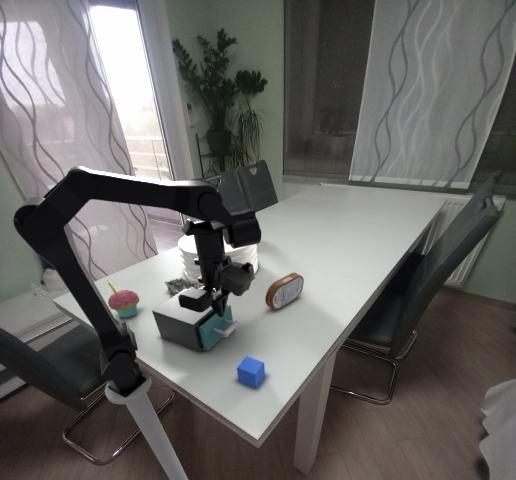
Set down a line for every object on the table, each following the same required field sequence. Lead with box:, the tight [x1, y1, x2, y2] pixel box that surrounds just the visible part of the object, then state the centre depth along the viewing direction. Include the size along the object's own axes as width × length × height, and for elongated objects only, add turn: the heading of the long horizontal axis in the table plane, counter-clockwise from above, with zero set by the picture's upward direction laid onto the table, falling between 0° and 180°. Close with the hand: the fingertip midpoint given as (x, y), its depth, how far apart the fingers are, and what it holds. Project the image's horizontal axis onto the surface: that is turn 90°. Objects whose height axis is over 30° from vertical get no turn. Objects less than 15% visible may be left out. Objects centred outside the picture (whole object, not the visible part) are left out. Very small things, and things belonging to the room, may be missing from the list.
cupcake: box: [106, 279, 140, 318], centre depth 80 cm, size 9×8×12 cm
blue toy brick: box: [236, 355, 266, 389], centre depth 59 cm, size 4×4×4 cm
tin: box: [264, 272, 305, 310], centre depth 81 cm, size 15×3×8 cm, turn 135°
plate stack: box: [177, 234, 259, 286], centre depth 102 cm, size 28×28×12 cm
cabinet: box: [151, 289, 214, 353], centre depth 72 cm, size 14×13×9 cm
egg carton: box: [164, 277, 199, 296], centre depth 91 cm, size 11×8×4 cm
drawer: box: [196, 303, 240, 352], centre depth 70 cm, size 17×11×7 cm
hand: (221, 316), depth 66 cm, fingers closed
